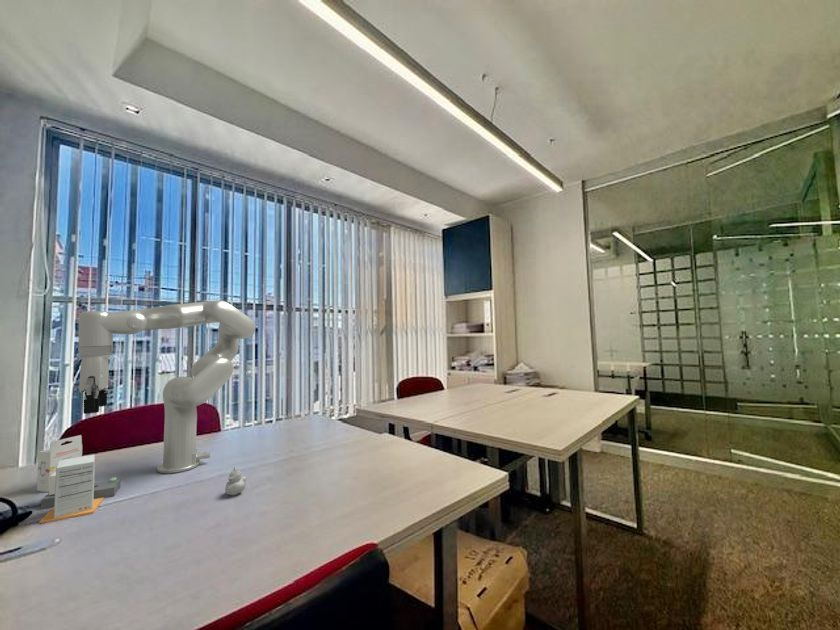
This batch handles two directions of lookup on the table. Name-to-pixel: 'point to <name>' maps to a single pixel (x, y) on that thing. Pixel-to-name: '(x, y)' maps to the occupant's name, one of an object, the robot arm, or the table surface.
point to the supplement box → (74, 485)
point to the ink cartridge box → (56, 459)
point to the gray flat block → (100, 491)
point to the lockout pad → (50, 515)
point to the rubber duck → (235, 483)
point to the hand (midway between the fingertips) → (95, 409)
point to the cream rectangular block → (52, 484)
